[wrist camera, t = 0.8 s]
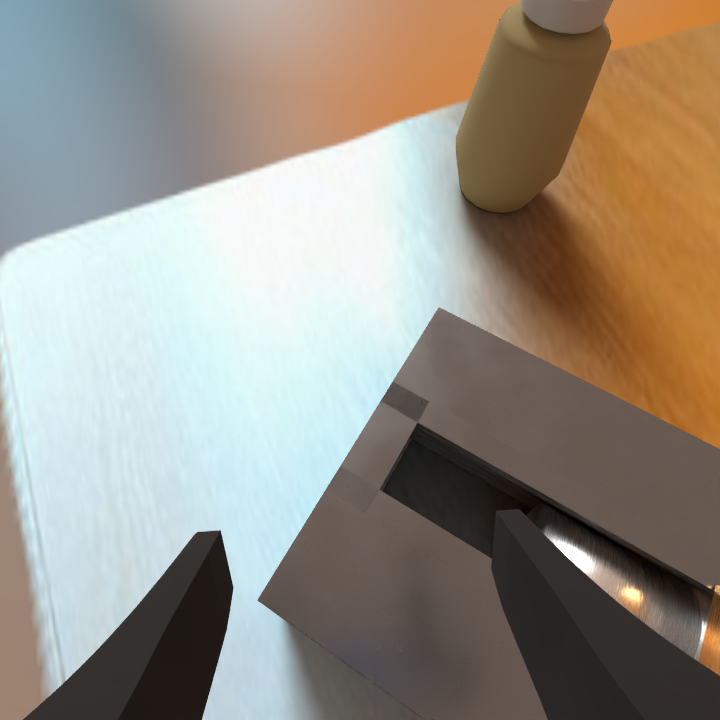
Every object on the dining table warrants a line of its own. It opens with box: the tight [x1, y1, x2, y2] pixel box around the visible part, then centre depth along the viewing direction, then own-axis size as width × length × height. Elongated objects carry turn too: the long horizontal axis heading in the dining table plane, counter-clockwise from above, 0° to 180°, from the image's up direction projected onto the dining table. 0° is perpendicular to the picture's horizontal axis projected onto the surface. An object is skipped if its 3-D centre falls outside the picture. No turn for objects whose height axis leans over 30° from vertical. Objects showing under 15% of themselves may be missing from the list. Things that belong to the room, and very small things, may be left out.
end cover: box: [526, 503, 720, 676], centre depth 20 cm, size 9×8×9 cm
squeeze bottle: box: [456, 0, 613, 213], centre depth 29 cm, size 8×8×18 cm
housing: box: [258, 308, 720, 720], centre depth 22 cm, size 16×16×6 cm
